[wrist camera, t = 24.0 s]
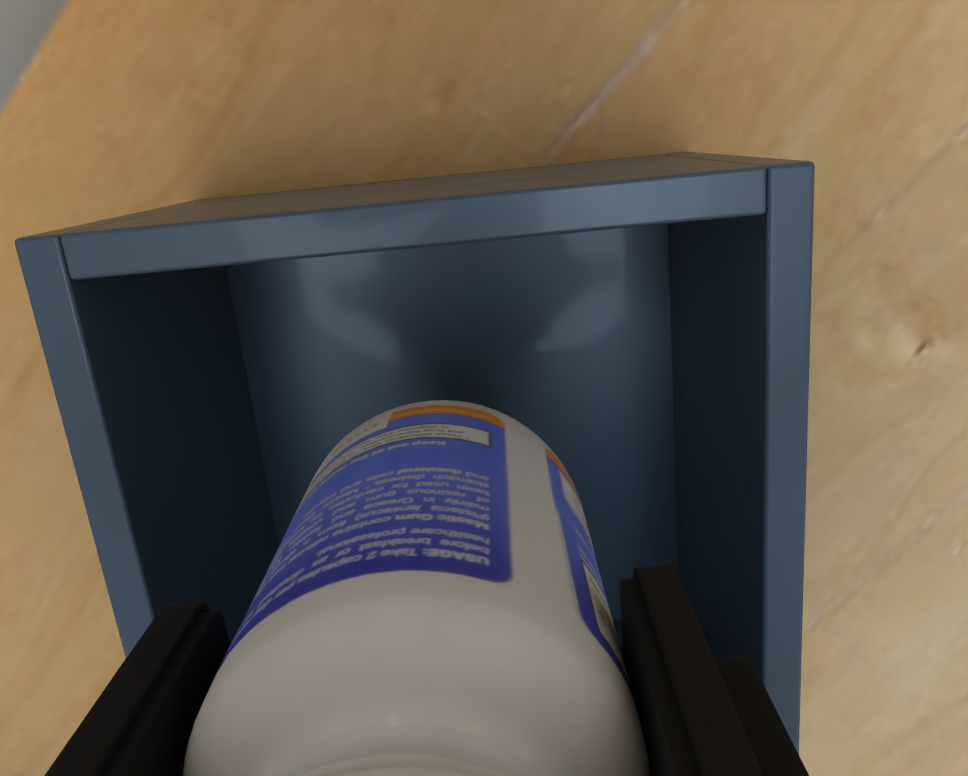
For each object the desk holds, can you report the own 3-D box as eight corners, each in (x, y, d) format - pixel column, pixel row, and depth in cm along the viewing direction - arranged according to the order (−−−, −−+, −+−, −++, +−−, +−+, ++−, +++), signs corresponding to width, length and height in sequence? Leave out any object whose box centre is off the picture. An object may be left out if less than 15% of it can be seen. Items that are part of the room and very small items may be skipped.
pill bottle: (260, 558, 16) (-59, 1140, 7) (399, 337, 15) (238, 688, 5) (488, 683, 17) (485, 1354, 8) (640, 485, 15) (863, 1011, 6)
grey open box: (193, 200, 22) (11, 239, 14) (690, 151, 22) (817, 160, 13) (283, 651, 26) (187, 892, 18) (698, 619, 26) (797, 850, 18)
